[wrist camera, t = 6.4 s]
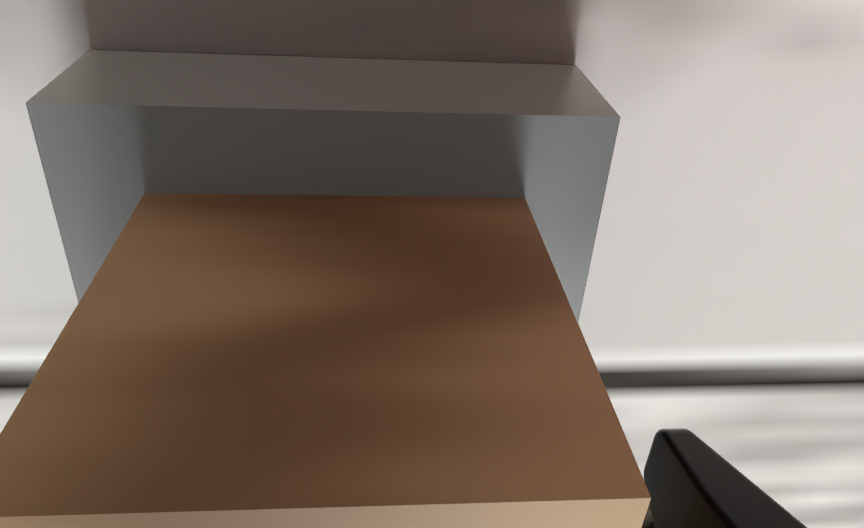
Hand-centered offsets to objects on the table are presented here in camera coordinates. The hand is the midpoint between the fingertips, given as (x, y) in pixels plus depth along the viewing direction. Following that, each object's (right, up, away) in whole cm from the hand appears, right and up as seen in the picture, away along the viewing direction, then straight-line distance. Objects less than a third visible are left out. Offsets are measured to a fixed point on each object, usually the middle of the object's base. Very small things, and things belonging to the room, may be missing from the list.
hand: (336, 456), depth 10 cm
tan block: (0, +1, +2) cm, 2 cm away
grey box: (0, +3, +4) cm, 5 cm away
